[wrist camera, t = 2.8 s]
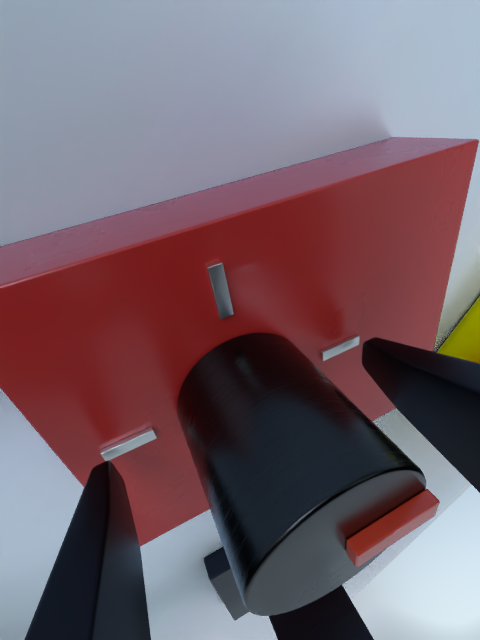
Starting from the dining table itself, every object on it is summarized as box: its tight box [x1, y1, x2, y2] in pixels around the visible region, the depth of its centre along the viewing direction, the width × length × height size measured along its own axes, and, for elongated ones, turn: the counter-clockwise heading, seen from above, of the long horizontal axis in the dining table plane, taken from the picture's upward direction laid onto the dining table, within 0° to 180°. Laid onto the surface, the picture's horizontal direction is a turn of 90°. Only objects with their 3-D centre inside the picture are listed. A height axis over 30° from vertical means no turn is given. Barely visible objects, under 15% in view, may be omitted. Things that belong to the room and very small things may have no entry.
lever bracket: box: [204, 547, 374, 640], centre depth 19 cm, size 9×8×10 cm
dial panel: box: [0, 137, 479, 546], centre depth 11 cm, size 13×10×3 cm
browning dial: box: [177, 332, 440, 616], centre depth 8 cm, size 4×4×5 cm
